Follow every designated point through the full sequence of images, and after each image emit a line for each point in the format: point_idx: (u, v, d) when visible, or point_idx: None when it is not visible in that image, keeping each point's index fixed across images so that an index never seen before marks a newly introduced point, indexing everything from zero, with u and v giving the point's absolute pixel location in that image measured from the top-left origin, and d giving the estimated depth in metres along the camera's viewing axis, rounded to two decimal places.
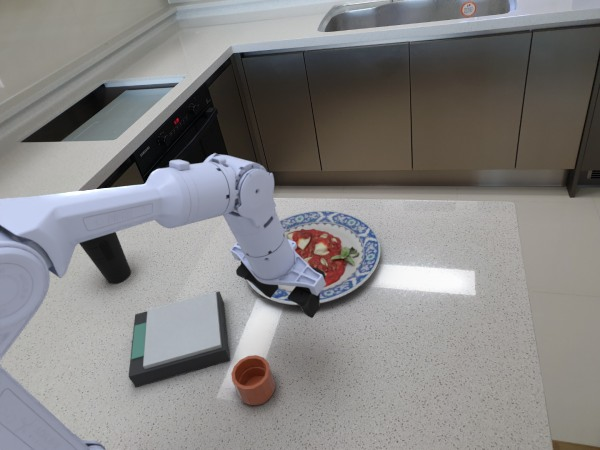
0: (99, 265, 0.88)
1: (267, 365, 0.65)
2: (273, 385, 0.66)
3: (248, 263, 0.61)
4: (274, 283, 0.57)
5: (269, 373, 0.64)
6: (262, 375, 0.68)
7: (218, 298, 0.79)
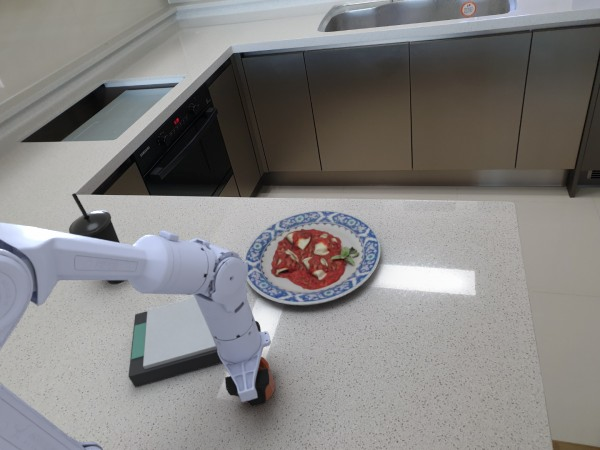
0: None
1: (267, 365, 0.65)
2: (273, 385, 0.66)
3: None
4: (223, 363, 0.59)
5: (269, 373, 0.64)
6: None
7: None
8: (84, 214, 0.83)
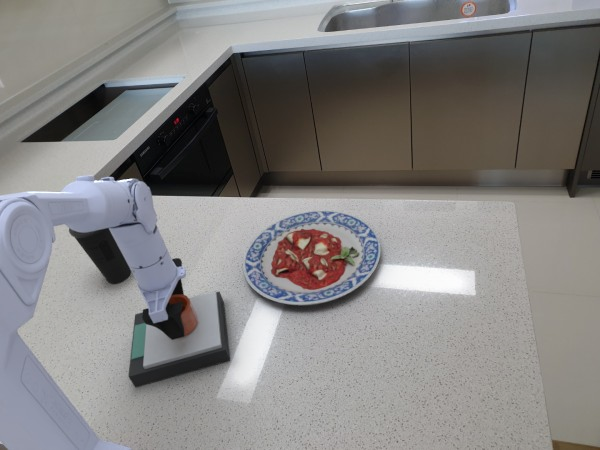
0: (99, 265, 0.88)
1: (188, 301, 0.72)
2: (195, 320, 0.73)
3: None
4: (141, 293, 0.66)
5: (189, 308, 0.71)
6: None
7: (218, 298, 0.79)
8: None
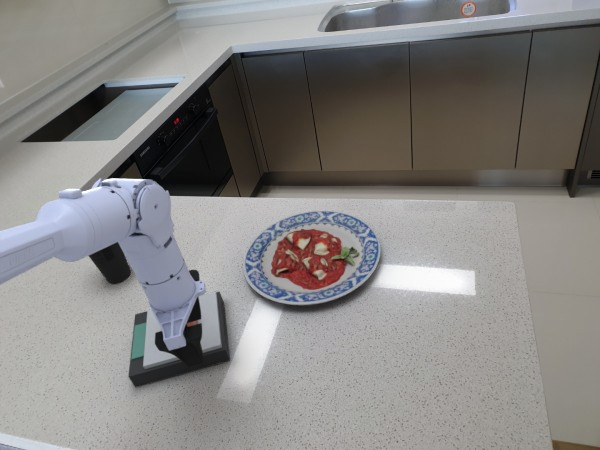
0: (99, 265, 0.88)
1: None
2: None
3: None
4: (153, 312, 0.56)
5: None
6: None
7: (218, 298, 0.79)
8: None
